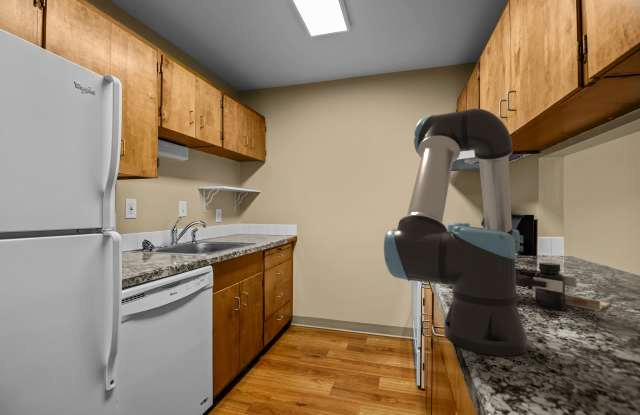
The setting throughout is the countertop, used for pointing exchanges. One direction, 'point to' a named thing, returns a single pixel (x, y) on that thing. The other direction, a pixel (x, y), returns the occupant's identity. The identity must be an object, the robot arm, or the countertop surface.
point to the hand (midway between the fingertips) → (569, 284)
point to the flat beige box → (586, 303)
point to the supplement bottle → (547, 296)
